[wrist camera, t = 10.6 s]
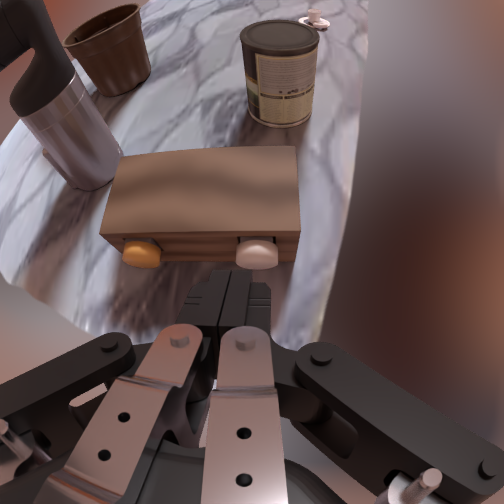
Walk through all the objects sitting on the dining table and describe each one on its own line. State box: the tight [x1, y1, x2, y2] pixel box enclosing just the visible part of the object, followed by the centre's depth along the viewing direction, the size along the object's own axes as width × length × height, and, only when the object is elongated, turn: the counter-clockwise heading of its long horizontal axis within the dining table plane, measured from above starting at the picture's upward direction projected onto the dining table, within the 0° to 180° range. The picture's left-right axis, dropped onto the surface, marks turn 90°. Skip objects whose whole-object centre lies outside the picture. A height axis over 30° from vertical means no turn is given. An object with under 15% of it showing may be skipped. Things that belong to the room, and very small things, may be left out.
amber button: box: [122, 238, 161, 268], centre depth 31 cm, size 6×4×4 cm, turn 179°
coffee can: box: [240, 20, 320, 128], centre depth 37 cm, size 10×10×14 cm
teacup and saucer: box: [299, 9, 330, 28], centre depth 55 cm, size 9×8×4 cm
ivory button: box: [236, 236, 278, 270], centre depth 30 cm, size 6×4×4 cm, turn 179°
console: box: [99, 146, 301, 262], centre depth 32 cm, size 10×20×8 cm, turn 89°
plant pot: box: [62, 3, 151, 97], centre depth 43 cm, size 16×16×16 cm
